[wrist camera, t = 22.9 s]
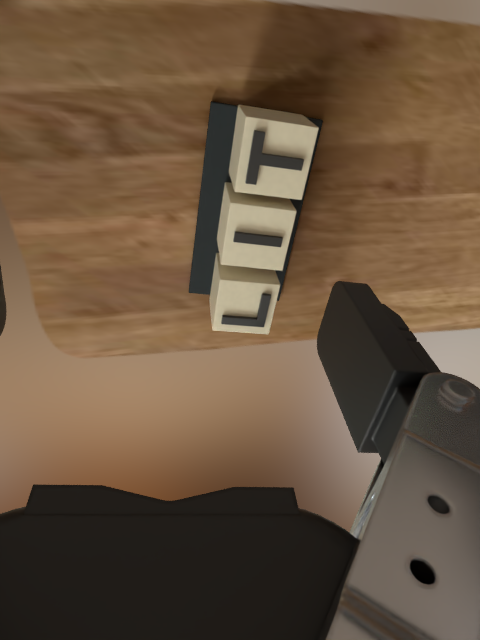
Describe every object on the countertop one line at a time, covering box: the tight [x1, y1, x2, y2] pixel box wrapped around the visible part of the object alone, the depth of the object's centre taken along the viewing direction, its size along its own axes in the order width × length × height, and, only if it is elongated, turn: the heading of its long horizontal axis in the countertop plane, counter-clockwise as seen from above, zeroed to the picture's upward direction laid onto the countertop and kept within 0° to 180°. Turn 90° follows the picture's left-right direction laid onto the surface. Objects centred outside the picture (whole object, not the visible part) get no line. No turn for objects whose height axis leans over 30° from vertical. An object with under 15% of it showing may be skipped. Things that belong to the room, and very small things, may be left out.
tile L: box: [209, 253, 280, 334], centre depth 36 cm, size 5×5×5 cm
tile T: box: [229, 105, 319, 200], centre depth 30 cm, size 5×5×5 cm
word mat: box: [189, 101, 323, 301], centre depth 35 cm, size 15×8×1 cm, turn 170°
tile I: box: [217, 182, 297, 271], centre depth 33 cm, size 5×5×5 cm
